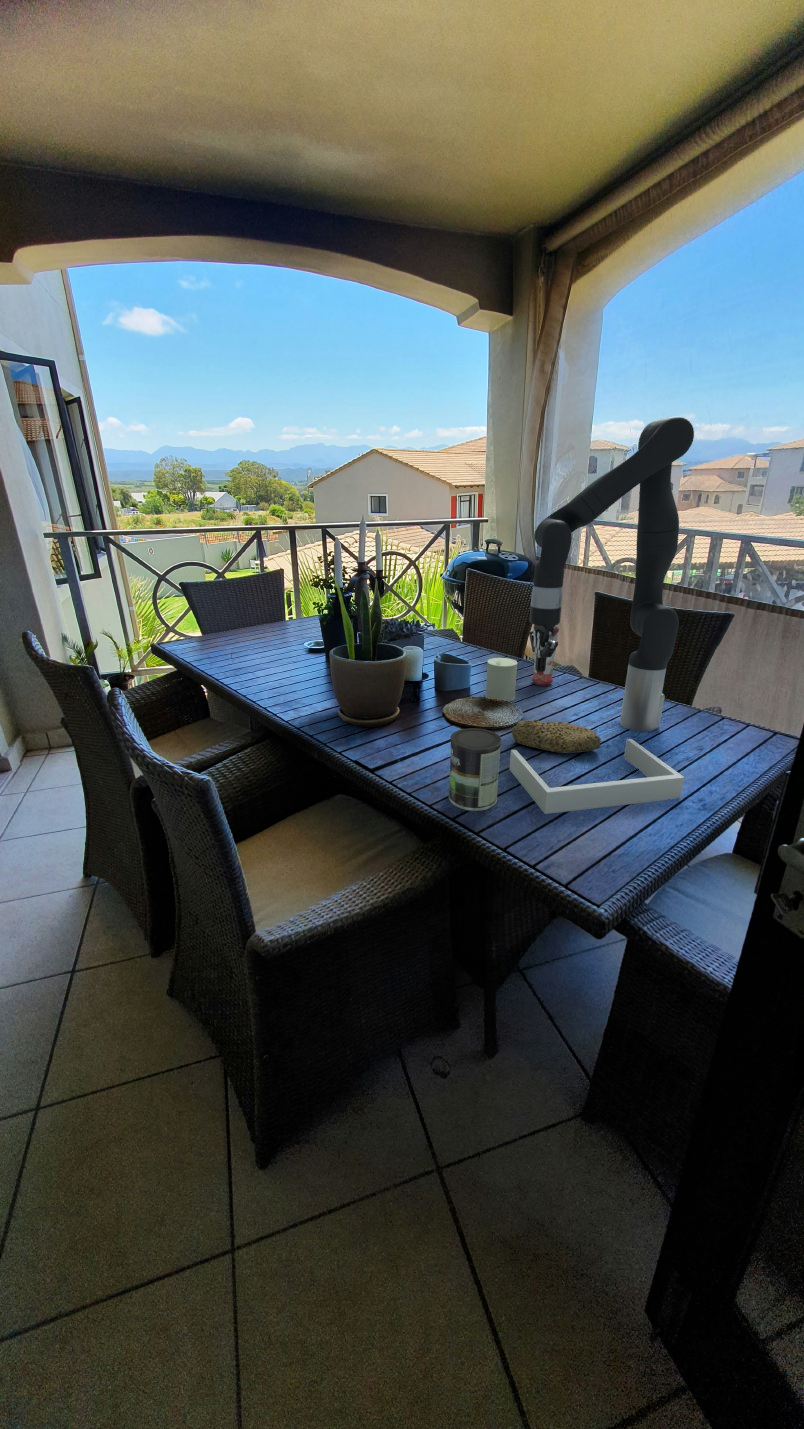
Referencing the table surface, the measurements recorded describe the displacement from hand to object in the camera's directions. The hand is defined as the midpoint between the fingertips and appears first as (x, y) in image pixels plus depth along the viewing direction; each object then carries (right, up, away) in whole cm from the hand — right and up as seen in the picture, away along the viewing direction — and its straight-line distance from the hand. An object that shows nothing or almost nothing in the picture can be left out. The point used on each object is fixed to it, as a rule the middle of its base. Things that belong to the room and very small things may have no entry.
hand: (539, 670), depth 145 cm
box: (+6, -27, -21) cm, 35 cm away
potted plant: (-45, -12, +16) cm, 49 cm away
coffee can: (-21, -29, -27) cm, 45 cm away
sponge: (+3, -20, -4) cm, 21 cm away
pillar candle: (-5, -6, +29) cm, 31 cm away
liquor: (+11, -1, +41) cm, 42 cm away
